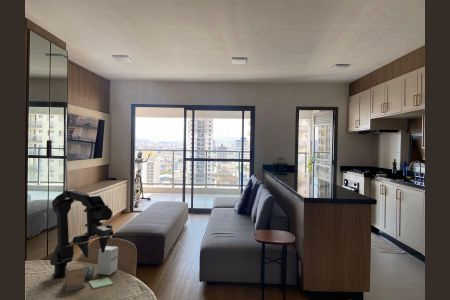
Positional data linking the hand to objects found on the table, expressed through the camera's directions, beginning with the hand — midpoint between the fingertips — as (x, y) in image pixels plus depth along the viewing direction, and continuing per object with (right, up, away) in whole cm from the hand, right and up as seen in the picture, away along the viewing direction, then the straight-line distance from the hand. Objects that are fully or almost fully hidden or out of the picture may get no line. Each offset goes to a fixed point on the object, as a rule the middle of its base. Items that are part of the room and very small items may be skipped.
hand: (95, 254), depth 138 cm
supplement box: (-2, -16, +19) cm, 25 cm away
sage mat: (+1, -15, +4) cm, 16 cm away
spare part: (-8, -15, +11) cm, 20 cm away
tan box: (-9, -15, -1) cm, 17 cm away
